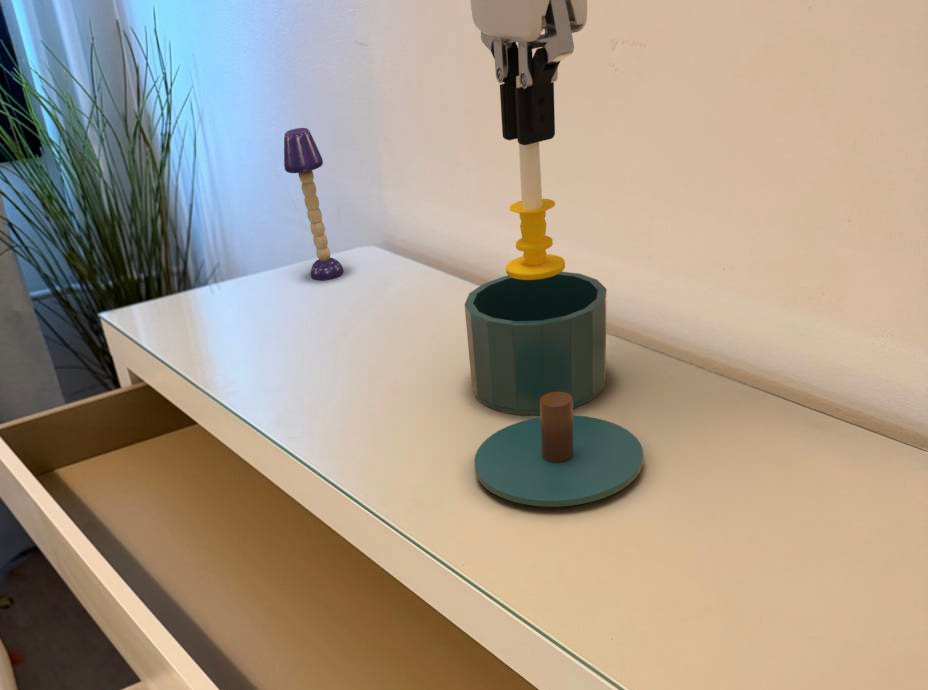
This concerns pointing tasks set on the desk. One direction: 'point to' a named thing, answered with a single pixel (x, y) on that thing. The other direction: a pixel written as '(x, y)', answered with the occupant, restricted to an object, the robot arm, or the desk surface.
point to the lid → (558, 457)
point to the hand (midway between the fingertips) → (528, 137)
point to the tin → (536, 340)
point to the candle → (533, 221)
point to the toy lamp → (310, 196)
